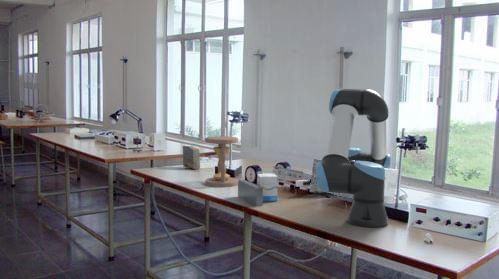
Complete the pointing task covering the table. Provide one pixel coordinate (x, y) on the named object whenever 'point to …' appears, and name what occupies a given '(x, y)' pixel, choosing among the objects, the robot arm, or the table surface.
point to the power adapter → (428, 238)
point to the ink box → (268, 186)
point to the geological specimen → (191, 157)
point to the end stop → (250, 192)
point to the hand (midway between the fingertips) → (296, 183)
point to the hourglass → (221, 162)
